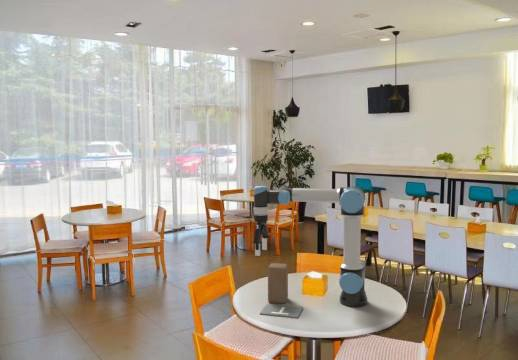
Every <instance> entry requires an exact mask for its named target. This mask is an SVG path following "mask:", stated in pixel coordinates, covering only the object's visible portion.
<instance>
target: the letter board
mask: <svg viewBox="0 0 518 360" xmlns="http://www.w3.org/2000/svg"><path fill="white" fill-rule="evenodd" d="M303 310H304V307H301V306H293V305H292V306H290V305H283V304H282V305H281V304H272V303H271V304H270V303H266V304H265V306H264V307H263V308H262V310H261V311H260V312H259V315H262V316H271V317H272V316H274V317H281V316H283V317H284V318H290V319H299V318H300V316H301V313H302V311H303Z"/></svg>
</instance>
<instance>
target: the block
mask: <svg viewBox="0 0 518 360" xmlns="http://www.w3.org/2000/svg"><path fill="white" fill-rule="evenodd" d="M288 297H289V266H288V264H287V263H277V262H276V263H274V262H271V263H270V264H269V266H268V267H267V302H268V303H274V304H275V303H276V304H286V302H287V300H288Z"/></svg>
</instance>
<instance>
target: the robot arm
mask: <svg viewBox="0 0 518 360" xmlns="http://www.w3.org/2000/svg"><path fill="white" fill-rule="evenodd" d="M365 200H366V194H365V192H364V191H363V189H362V188H360V187H358V186H345V187H343V186H341V187H338V188H308V187H307V188H306V187H304V188H303V187H299V188H298V187H287V186H285V187H281V188H279V189H277V190H275V189H273V190H272V189H269V187H268V186H267V185H256V186H255V187H253V208H252V210H253V214H254V215H253V221H254V222H255V223H257V224H255V226H254V227H255V228H254V237H253V243H252V244H253V245H254V256H256V257H257V256H258V257H259V256H261V250H263V251H267V250H268V239H269V233H268V227H267V226H268V225H267V222H268V221H269V217H268V213H269V209H268V208H269V207H268V206H269V205H289V203H290V202H297V203H300V202H304V203H305V202H306V203H329V204H330V203H333V204H338V206H339V205H340V215H341V216H342V217H343V255H342V256H343V261H342V263H341V265H340V267H339V268H340V272H339V274H340V276H339V279H338V284H339V287H340V289H341V292H340V295H339V303H340V304H341V305H344V306H347V307H355V308H356V307H358V308H359V307H364V306H365V307H366V306H367V305H368V300H369V299H368V296H367V293H366V289H365V280H366V279H365V277H366V276H365V274H366V273H365V272H366V271H365V269H366V265H365V262H363V261H361V237H362V236H361V231H362V230H361V227H362V223H361V221H362V217H363V216H364V215H365ZM260 242H261V243H260Z"/></svg>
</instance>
